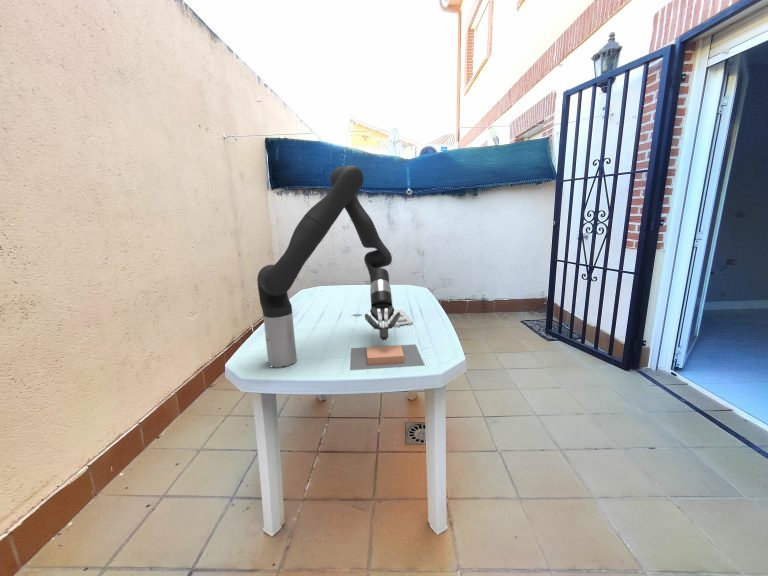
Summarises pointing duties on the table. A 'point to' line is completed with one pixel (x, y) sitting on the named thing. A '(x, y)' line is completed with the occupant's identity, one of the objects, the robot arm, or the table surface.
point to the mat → (360, 362)
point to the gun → (402, 319)
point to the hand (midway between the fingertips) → (384, 339)
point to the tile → (385, 355)
